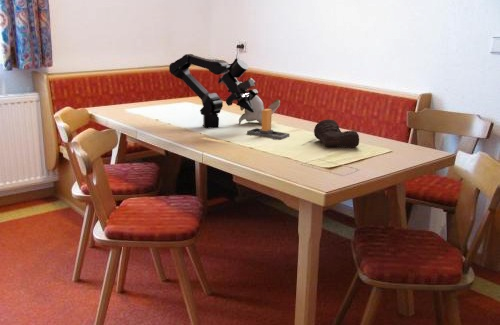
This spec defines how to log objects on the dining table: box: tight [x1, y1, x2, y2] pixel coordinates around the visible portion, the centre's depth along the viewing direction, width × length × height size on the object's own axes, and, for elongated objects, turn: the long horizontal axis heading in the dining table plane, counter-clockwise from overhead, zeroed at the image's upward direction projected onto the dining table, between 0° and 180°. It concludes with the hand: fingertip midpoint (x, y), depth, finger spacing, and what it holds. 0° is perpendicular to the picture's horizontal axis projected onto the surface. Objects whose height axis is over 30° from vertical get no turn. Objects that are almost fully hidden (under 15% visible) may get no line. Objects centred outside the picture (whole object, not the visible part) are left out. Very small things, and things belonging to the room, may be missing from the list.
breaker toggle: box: [259, 108, 274, 135], centre depth 210 cm, size 4×5×11 cm
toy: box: [238, 94, 281, 125], centre depth 232 cm, size 8×15×20 cm
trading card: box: [300, 161, 361, 177], centre depth 170 cm, size 11×1×18 cm
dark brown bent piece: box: [313, 119, 360, 148], centre depth 200 cm, size 10×15×15 cm
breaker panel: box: [246, 127, 290, 141], centre depth 211 cm, size 18×12×2 cm, turn 57°
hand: (253, 111), depth 212 cm, fingers closed
